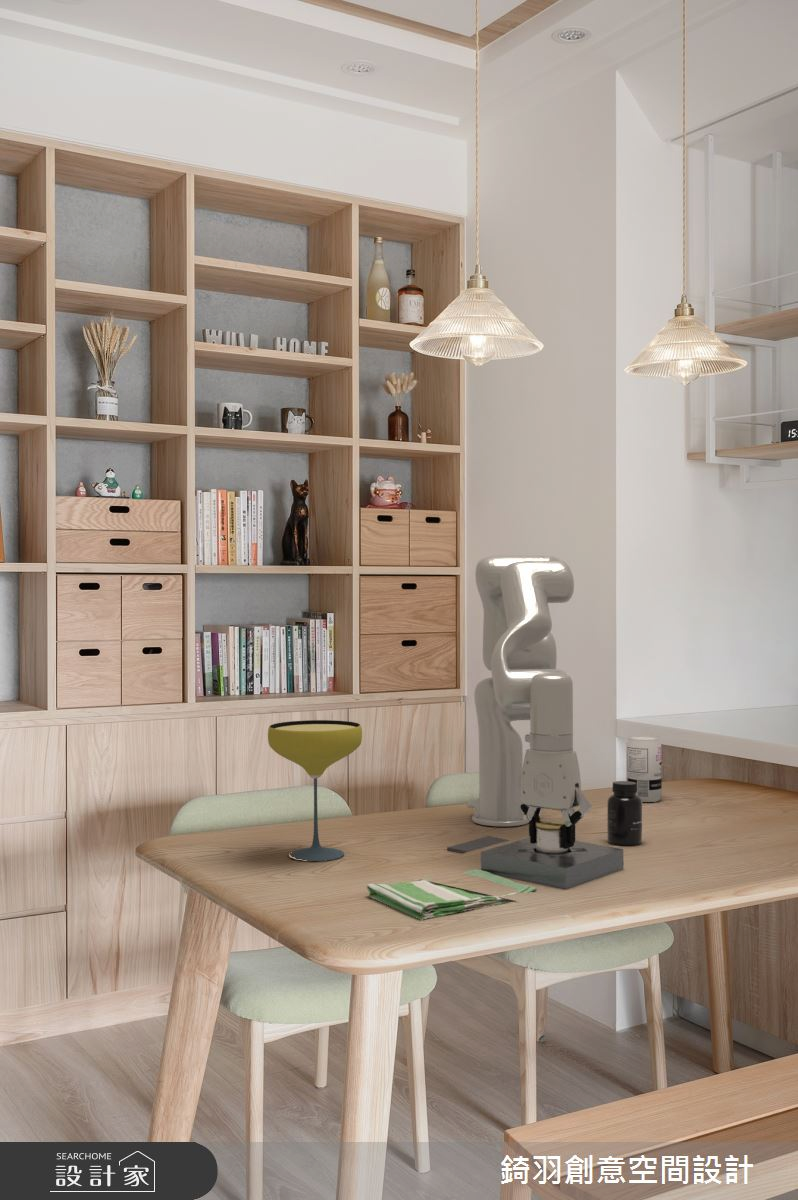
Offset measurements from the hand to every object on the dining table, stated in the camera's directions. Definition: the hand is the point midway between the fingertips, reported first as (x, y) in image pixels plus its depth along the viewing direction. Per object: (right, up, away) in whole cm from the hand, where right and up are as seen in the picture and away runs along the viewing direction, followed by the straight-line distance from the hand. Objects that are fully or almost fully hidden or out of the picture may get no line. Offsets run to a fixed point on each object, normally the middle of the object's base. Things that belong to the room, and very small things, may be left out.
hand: (552, 843), depth 198 cm
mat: (-9, -6, +20) cm, 22 cm away
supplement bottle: (+18, -6, +25) cm, 32 cm away
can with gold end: (0, -5, 0) cm, 5 cm away
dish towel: (-19, -7, -13) cm, 24 cm away
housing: (0, -6, 0) cm, 6 cm away
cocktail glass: (-43, -6, +16) cm, 47 cm away
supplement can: (+32, -5, +70) cm, 77 cm away
